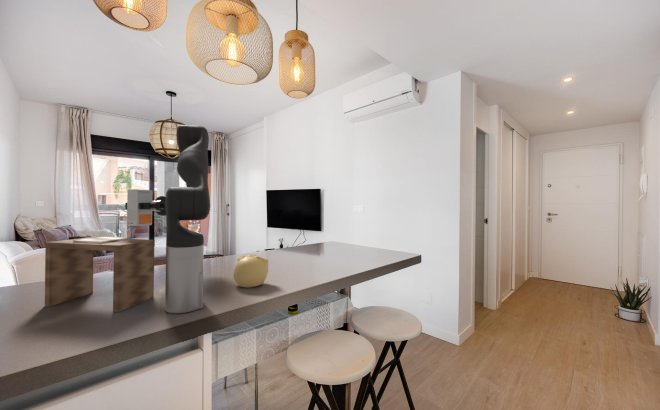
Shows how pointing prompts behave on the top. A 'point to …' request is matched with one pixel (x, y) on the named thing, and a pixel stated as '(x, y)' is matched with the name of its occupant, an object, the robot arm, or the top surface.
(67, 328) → the top surface
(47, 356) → the top surface
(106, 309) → the top surface
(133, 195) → the skincare box
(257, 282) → the yellow rounded lump
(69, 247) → the shelf nook
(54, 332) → the top surface
